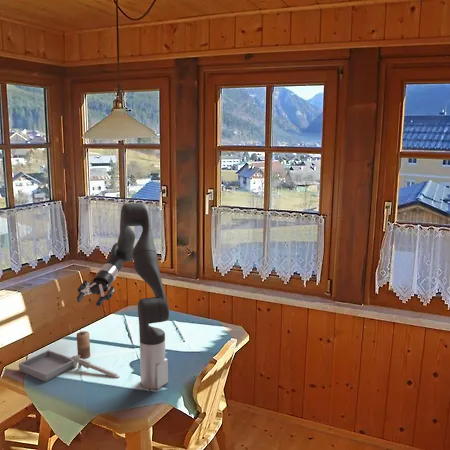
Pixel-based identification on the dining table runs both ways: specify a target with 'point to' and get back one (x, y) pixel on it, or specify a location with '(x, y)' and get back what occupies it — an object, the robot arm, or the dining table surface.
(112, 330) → the dining table surface
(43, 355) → the tray
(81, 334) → the cylinder
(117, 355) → the dining table surface
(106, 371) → the caliper
